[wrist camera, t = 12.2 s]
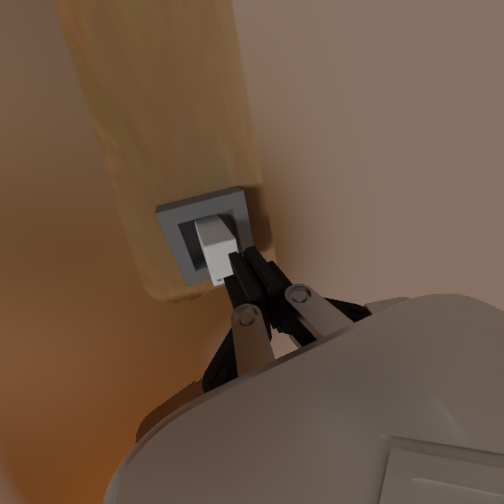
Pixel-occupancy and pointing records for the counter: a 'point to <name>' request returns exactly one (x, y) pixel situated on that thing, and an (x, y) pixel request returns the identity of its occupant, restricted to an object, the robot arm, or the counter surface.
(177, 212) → the port block
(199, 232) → the skincare box
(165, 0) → the counter surface
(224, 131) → the counter surface
